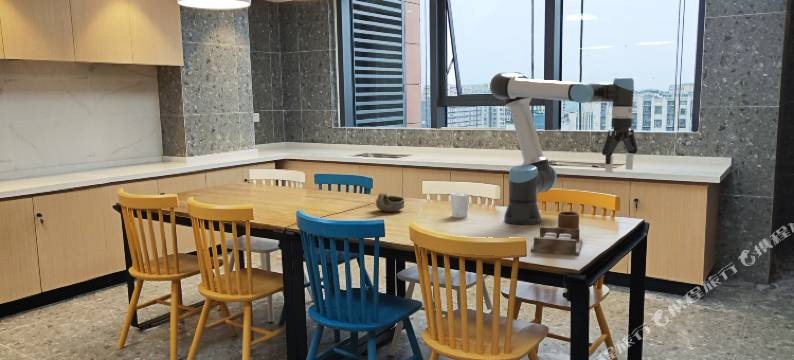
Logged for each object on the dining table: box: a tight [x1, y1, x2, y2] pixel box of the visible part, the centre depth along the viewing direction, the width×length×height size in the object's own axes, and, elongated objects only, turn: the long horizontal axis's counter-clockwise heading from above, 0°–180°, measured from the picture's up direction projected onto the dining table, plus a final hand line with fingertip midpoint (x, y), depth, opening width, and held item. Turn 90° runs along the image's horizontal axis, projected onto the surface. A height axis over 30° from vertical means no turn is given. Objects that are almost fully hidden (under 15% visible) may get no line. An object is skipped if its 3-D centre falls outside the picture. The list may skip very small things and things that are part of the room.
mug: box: [557, 210, 580, 229], centre depth 239 cm, size 12×8×9 cm, turn 151°
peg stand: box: [530, 226, 583, 256], centre depth 225 cm, size 16×19×5 cm
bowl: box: [374, 192, 405, 213], centre depth 292 cm, size 14×18×10 cm
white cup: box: [450, 192, 470, 219], centre depth 280 cm, size 8×8×10 cm
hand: (619, 171), depth 252 cm, fingers open, 13 cm apart
